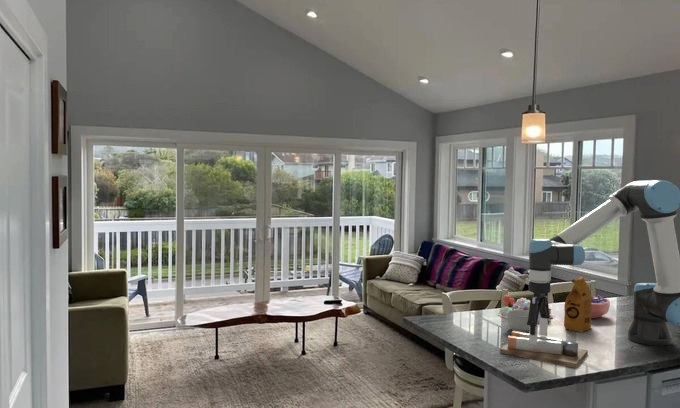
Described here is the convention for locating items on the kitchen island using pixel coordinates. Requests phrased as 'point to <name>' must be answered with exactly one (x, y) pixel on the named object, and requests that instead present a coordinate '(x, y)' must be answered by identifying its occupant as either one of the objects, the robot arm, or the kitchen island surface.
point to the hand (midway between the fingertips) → (538, 339)
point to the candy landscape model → (516, 306)
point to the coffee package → (578, 307)
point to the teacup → (518, 320)
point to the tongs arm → (534, 345)
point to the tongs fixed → (566, 346)
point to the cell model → (599, 306)
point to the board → (547, 356)
